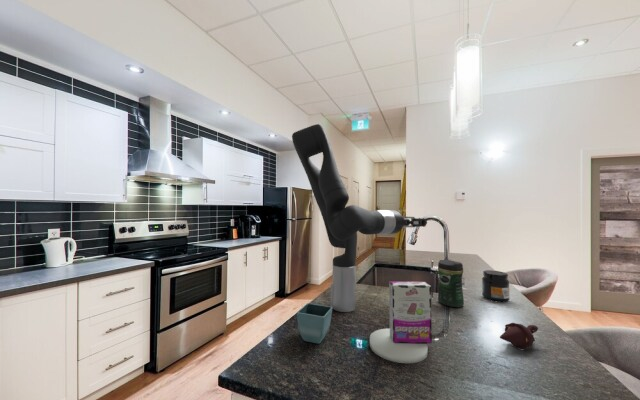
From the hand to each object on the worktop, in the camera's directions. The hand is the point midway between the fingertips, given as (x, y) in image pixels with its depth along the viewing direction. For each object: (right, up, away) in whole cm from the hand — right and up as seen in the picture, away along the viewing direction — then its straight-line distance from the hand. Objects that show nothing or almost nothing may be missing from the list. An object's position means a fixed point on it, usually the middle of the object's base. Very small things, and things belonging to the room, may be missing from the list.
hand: (413, 221), depth 91 cm
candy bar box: (-6, -34, -15) cm, 37 cm away
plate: (-10, -35, -15) cm, 40 cm away
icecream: (+26, -36, -14) cm, 47 cm away
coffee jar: (+23, -37, +21) cm, 49 cm away
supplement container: (+48, -38, +28) cm, 67 cm away
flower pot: (-34, -35, -11) cm, 51 cm away
